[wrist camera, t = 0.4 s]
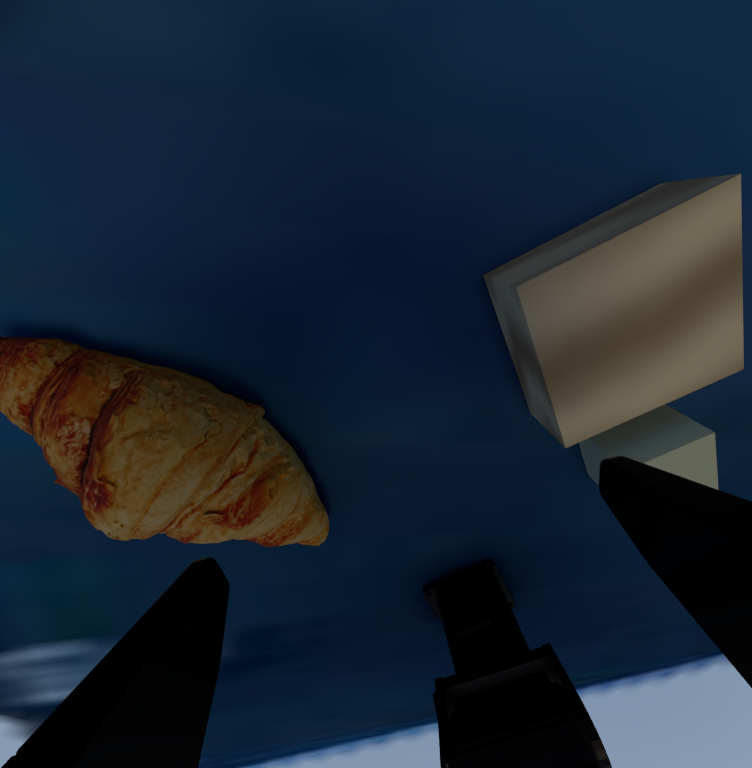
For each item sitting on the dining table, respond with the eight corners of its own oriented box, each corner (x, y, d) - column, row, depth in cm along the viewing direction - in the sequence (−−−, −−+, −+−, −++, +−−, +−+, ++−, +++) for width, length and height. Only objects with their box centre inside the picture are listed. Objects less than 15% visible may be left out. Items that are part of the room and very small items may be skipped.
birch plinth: (678, 345, 22) (743, 369, 19) (530, 413, 23) (565, 448, 20) (661, 183, 18) (740, 173, 15) (482, 275, 19) (516, 287, 16)
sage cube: (652, 445, 26) (718, 493, 21) (587, 473, 26) (638, 526, 22) (643, 392, 24) (714, 432, 19) (573, 424, 24) (626, 470, 20)
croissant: (350, 459, 28) (397, 492, 21) (277, 577, 26) (299, 659, 19) (67, 282, 20) (-19, 236, 13) (-67, 431, 18) (-255, 474, 11)
